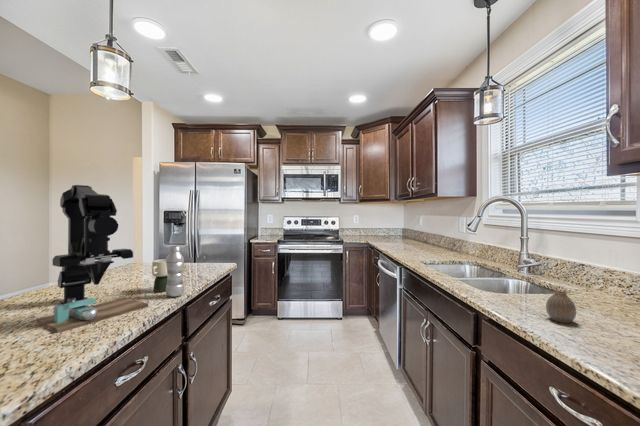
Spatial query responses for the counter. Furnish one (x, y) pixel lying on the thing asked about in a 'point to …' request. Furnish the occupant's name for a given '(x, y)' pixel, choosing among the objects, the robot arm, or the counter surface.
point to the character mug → (160, 274)
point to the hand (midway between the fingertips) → (96, 284)
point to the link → (82, 311)
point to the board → (103, 313)
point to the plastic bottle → (174, 272)
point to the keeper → (63, 310)
